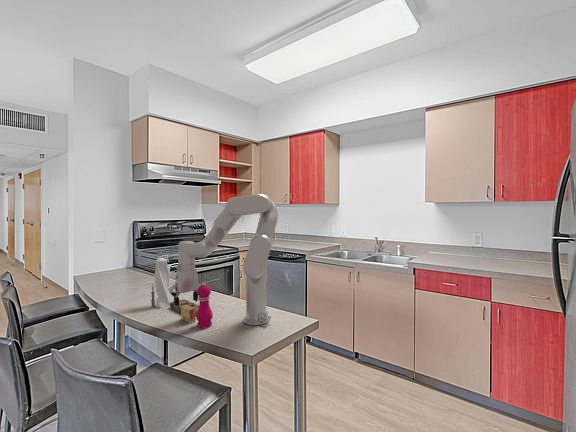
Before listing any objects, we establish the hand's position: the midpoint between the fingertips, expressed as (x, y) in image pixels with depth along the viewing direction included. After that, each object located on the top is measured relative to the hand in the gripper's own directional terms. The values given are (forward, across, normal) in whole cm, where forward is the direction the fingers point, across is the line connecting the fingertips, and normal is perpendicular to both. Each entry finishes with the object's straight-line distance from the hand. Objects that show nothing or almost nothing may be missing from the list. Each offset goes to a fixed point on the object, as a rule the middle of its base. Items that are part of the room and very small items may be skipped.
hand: (186, 302), depth 146 cm
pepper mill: (+8, +3, -12) cm, 15 cm away
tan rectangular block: (+9, +1, -1) cm, 9 cm away
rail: (+9, +8, +12) cm, 17 cm away
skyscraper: (+10, +3, +30) cm, 32 cm away
